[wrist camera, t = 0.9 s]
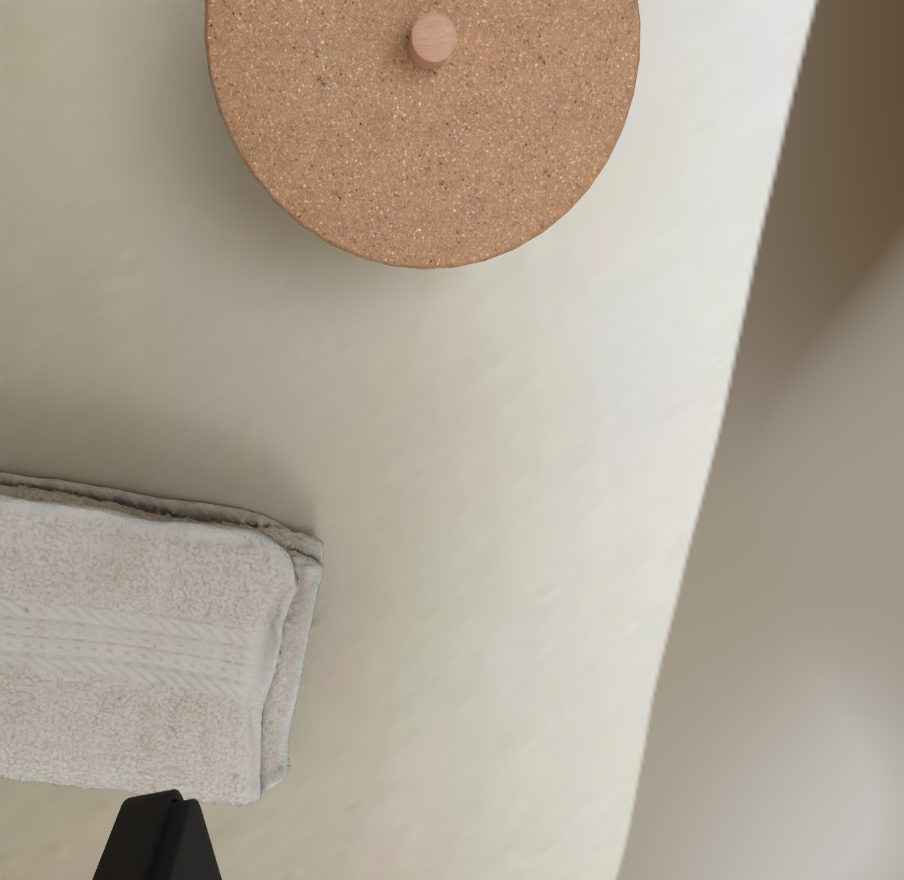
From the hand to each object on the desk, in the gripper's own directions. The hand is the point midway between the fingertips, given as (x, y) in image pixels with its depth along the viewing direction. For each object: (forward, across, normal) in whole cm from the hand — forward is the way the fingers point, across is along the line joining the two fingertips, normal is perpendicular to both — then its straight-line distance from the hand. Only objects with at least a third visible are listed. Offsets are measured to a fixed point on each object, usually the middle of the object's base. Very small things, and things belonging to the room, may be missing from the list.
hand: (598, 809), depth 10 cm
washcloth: (+22, +15, +6) cm, 28 cm away
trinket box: (+22, -1, -11) cm, 25 cm away
